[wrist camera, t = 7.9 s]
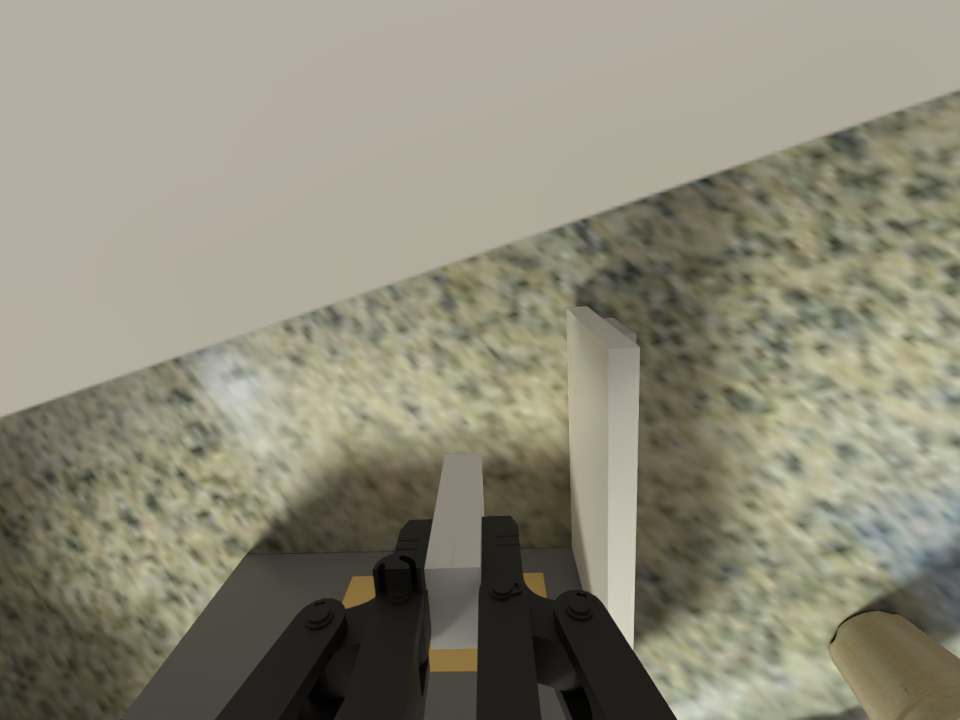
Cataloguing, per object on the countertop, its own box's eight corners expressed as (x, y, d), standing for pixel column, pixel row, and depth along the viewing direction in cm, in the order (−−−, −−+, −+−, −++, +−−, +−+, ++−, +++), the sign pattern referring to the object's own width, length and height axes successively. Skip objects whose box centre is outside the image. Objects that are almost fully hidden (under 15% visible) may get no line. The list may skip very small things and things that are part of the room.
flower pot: (869, 569, 33) (999, 684, 24) (962, 626, 34) (1115, 754, 26) (780, 654, 35) (870, 785, 27) (869, 704, 36) (983, 845, 28)
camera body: (243, 678, 37) (118, 902, 24) (213, 554, 34) (52, 741, 21) (593, 674, 36) (646, 905, 24) (597, 546, 33) (661, 737, 20)
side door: (566, 307, 27) (608, 349, 17) (600, 305, 27) (661, 345, 17) (571, 547, 31) (607, 686, 22) (600, 546, 31) (649, 684, 22)
